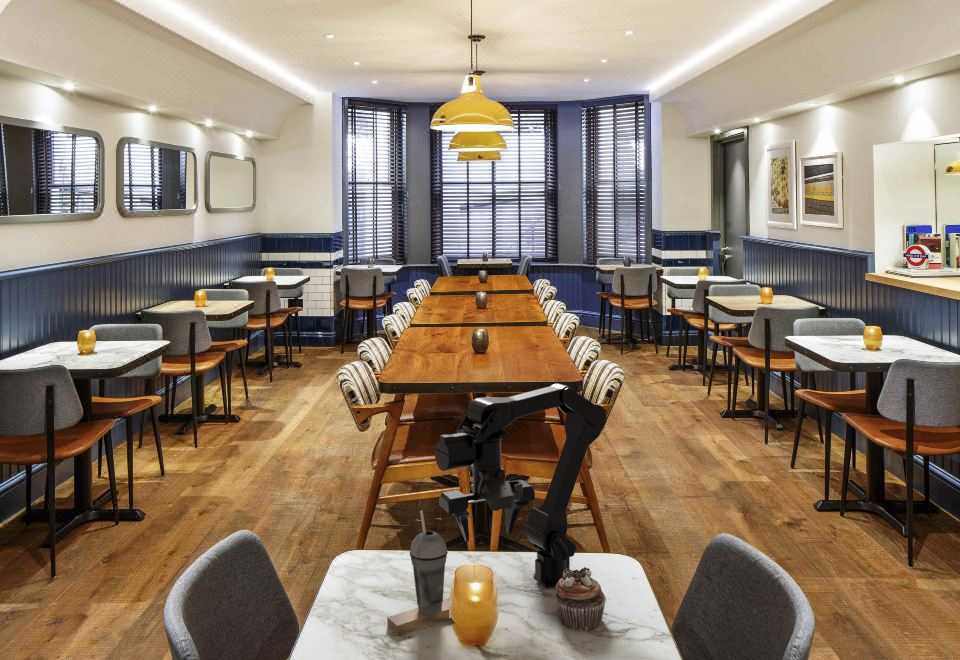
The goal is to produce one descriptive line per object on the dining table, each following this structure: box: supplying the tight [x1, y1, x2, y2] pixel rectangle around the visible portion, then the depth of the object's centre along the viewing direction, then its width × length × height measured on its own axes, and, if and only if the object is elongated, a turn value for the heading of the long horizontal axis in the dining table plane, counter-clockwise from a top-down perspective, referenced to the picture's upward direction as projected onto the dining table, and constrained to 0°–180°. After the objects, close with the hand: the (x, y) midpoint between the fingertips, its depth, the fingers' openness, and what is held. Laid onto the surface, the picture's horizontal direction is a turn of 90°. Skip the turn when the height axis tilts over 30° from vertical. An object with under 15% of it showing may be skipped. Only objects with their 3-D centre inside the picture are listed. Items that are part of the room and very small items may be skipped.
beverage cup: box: [409, 510, 448, 615], centre depth 159 cm, size 7×7×20 cm
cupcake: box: [554, 566, 607, 632], centre depth 159 cm, size 10×10×10 cm
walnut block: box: [386, 597, 451, 636], centre depth 161 cm, size 16×4×2 cm, turn 123°
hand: (487, 537), depth 167 cm, fingers open, 9 cm apart
